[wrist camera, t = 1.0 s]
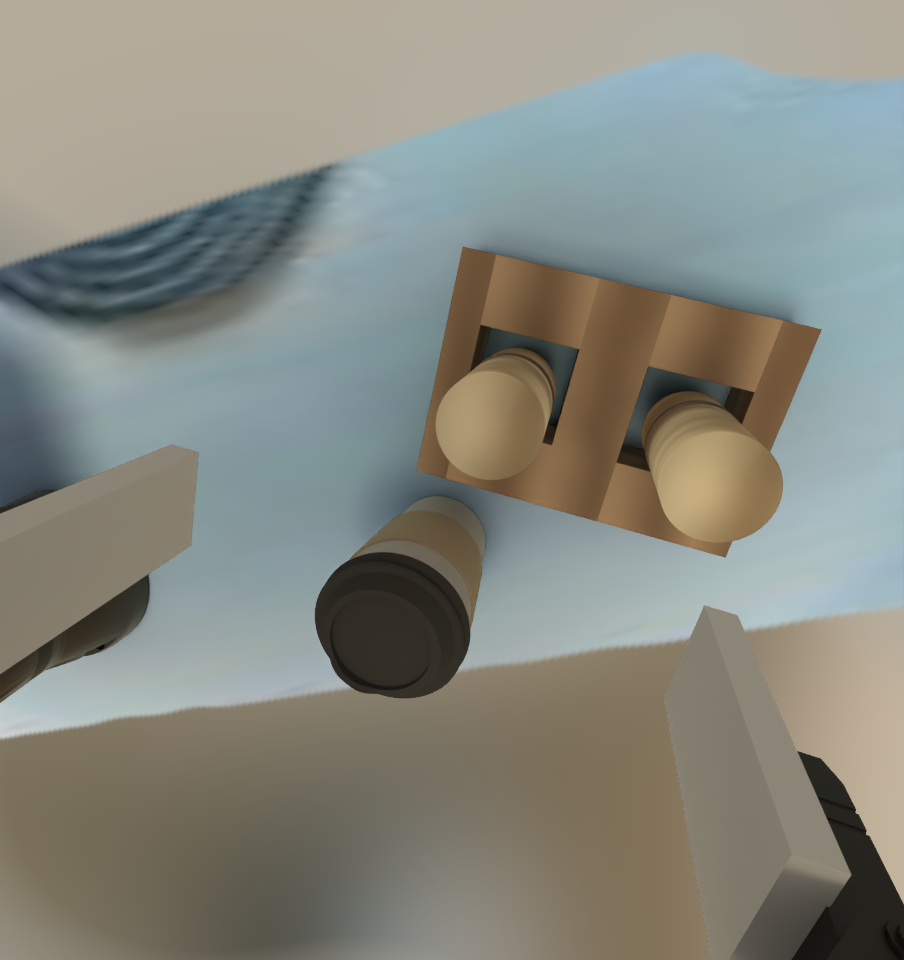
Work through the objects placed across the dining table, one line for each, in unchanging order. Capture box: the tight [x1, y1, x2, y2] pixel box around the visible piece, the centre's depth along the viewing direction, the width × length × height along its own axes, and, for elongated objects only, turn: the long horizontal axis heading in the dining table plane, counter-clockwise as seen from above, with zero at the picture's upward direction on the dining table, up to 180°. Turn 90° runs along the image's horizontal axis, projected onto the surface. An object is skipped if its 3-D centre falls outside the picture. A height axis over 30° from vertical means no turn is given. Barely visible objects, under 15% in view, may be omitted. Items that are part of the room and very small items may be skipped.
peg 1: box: [436, 348, 556, 480], centre depth 32 cm, size 5×5×12 cm
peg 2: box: [641, 391, 783, 543], centre depth 31 cm, size 5×5×12 cm
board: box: [417, 247, 822, 557], centre depth 39 cm, size 20×14×5 cm
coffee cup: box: [315, 496, 486, 698], centre depth 40 cm, size 9×9×15 cm
